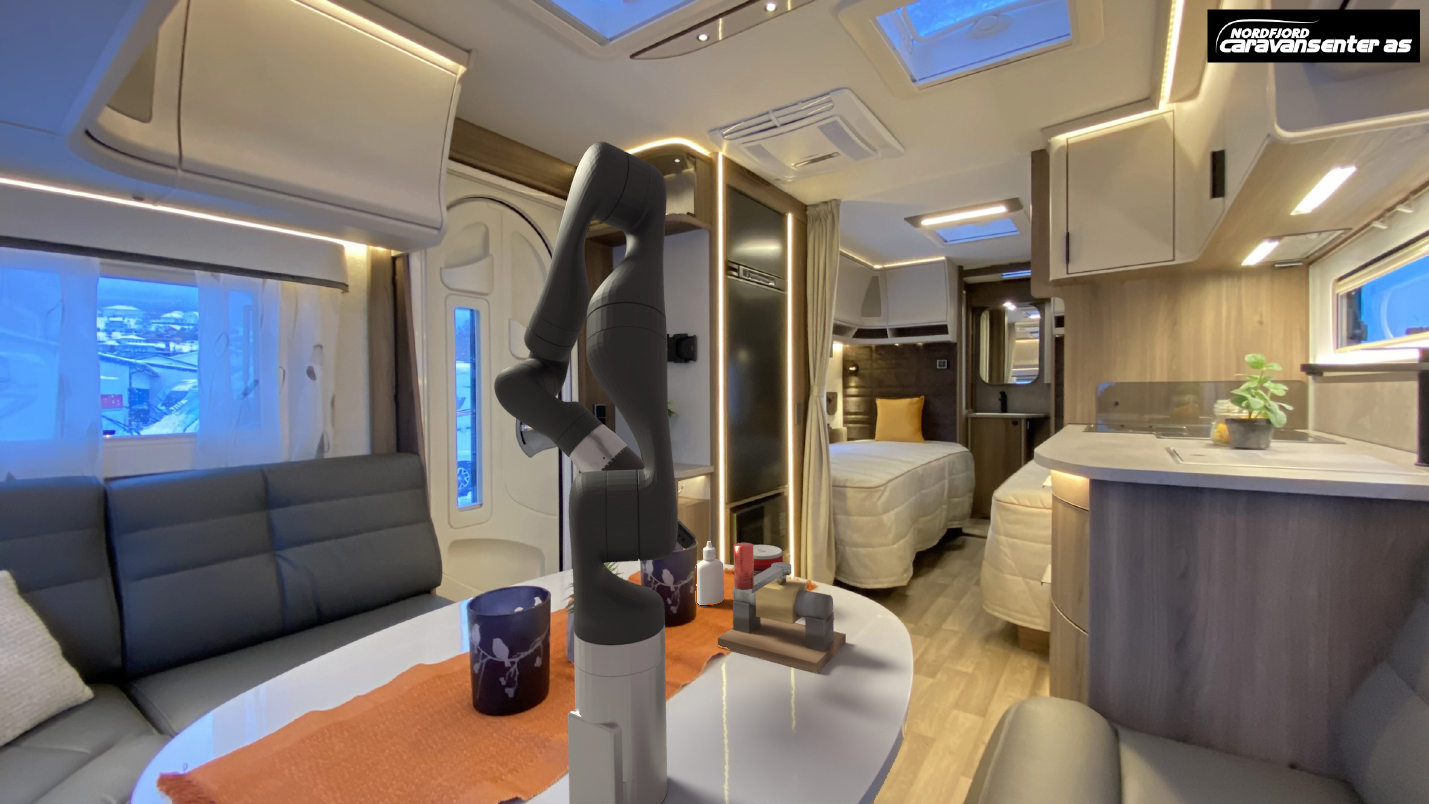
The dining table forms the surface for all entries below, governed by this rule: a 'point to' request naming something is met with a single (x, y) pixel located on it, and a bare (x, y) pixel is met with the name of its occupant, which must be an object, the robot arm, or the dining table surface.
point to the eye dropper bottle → (710, 577)
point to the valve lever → (745, 570)
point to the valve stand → (784, 626)
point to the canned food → (765, 557)
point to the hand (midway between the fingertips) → (691, 543)
